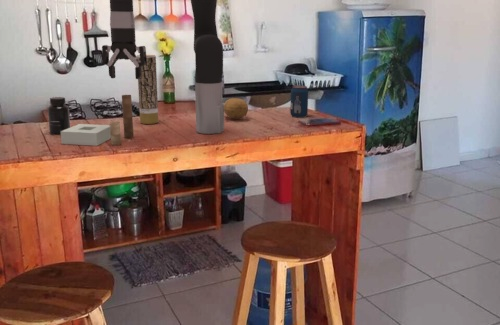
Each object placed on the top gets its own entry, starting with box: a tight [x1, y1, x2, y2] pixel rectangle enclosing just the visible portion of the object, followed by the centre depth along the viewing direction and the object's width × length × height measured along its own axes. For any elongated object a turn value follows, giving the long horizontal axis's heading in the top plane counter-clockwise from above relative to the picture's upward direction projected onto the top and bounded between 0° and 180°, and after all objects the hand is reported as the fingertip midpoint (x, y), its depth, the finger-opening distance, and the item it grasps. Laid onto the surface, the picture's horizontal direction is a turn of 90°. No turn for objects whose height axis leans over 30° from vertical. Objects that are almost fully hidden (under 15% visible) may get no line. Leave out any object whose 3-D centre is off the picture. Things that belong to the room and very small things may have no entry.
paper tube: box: [136, 54, 159, 125], centre depth 195 cm, size 7×7×25 cm
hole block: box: [60, 123, 111, 147], centre depth 170 cm, size 12×12×4 cm
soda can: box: [289, 85, 309, 119], centre depth 211 cm, size 7×7×12 cm
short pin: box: [109, 121, 122, 146], centre depth 165 cm, size 3×3×7 cm
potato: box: [223, 97, 249, 120], centre depth 206 cm, size 10×14×8 cm
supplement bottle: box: [47, 96, 71, 135], centre depth 180 cm, size 7×7×12 cm
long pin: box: [121, 94, 135, 139], centre depth 173 cm, size 3×3×14 cm
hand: (125, 78), depth 170 cm, fingers open, 8 cm apart
